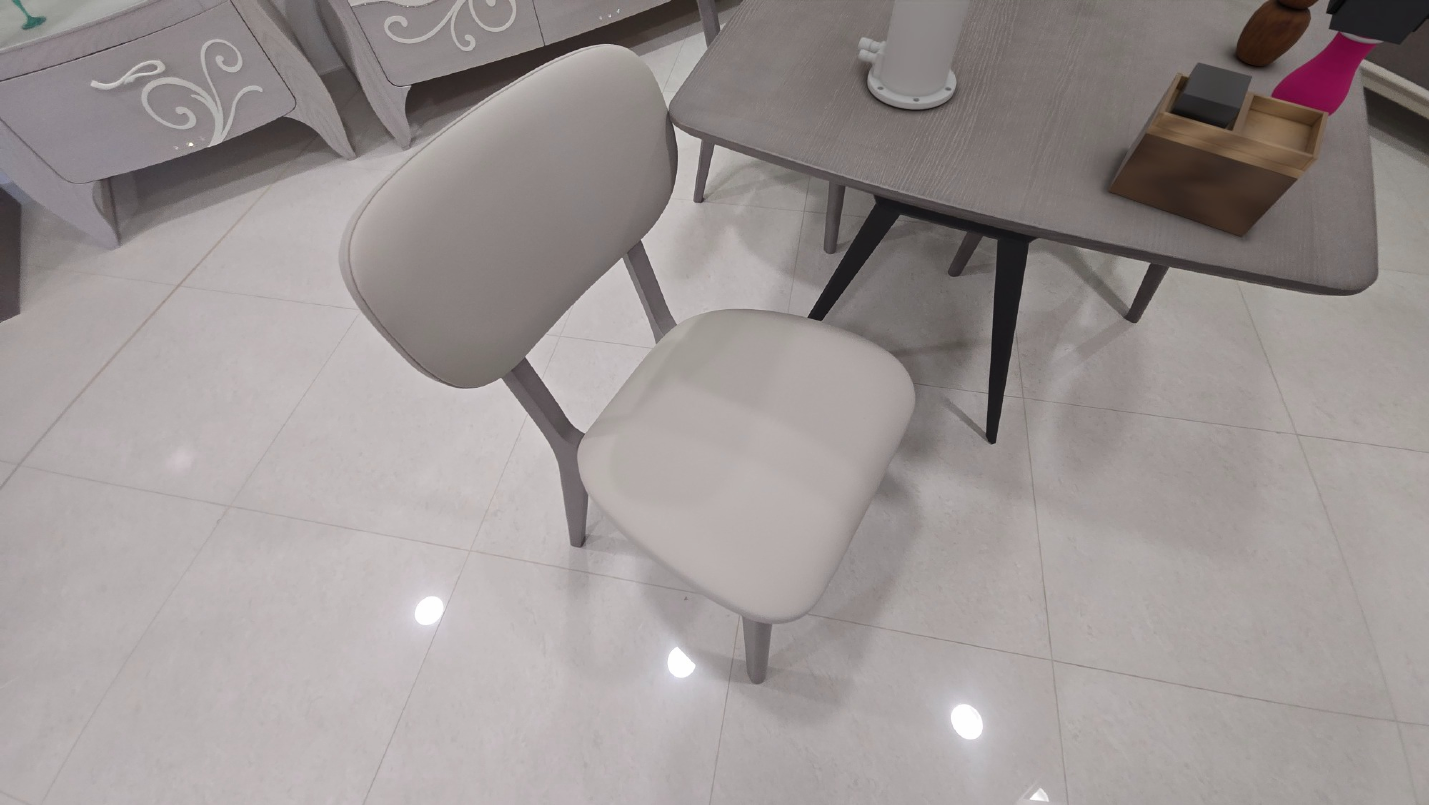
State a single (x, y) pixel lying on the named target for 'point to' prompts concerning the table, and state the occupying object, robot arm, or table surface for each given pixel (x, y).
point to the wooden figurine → (1273, 30)
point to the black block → (1380, 18)
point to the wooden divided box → (1219, 150)
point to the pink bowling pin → (1326, 74)
